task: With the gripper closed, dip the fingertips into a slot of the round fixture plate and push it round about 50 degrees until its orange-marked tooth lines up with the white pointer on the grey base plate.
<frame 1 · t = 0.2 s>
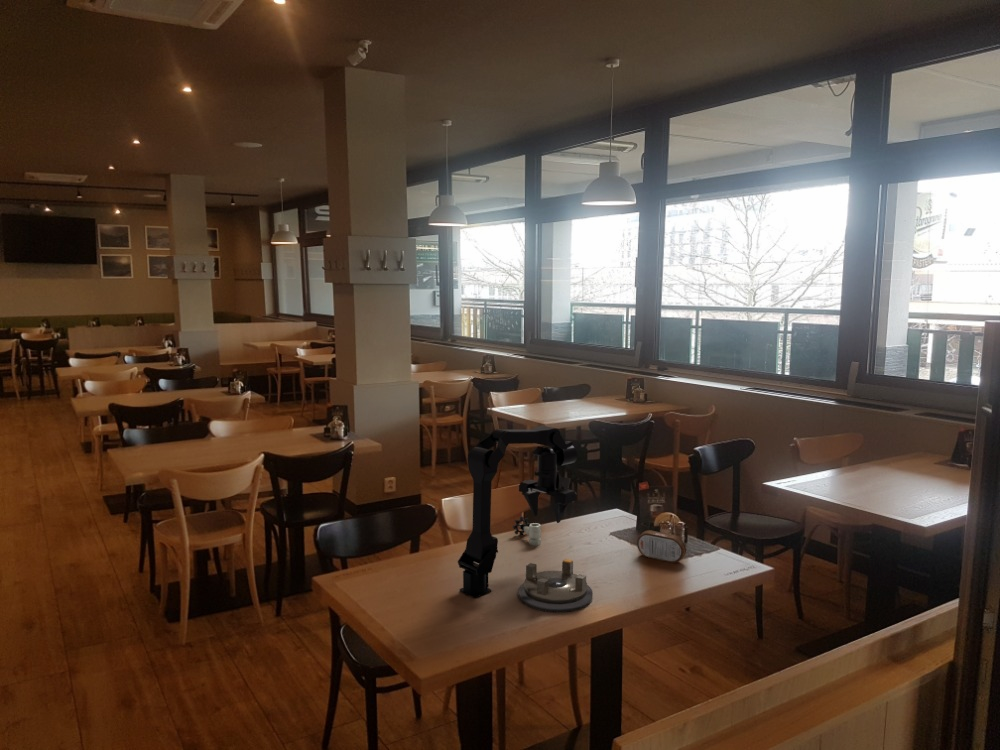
hand: (546, 519, 208), 14 cm above the table, tool pointing down, fingers open, 9 cm apart
valve: (529, 541, 232), on the table
base plate: (555, 595, 189), on the table
round fixture plate: (555, 579, 188), point 5 cm above the table, hinge at 0.0°
tin: (660, 560, 215), on the table
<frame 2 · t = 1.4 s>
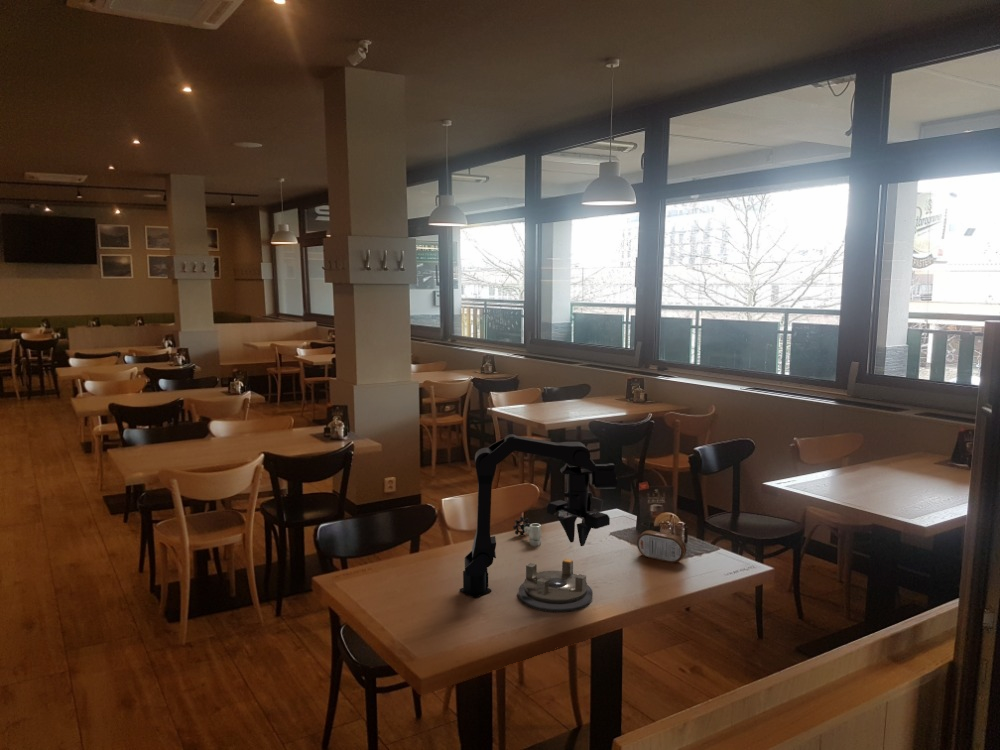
hand: (577, 544, 192), 13 cm above the table, tool pointing down, fingers open, 4 cm apart
nothing on the table moved.
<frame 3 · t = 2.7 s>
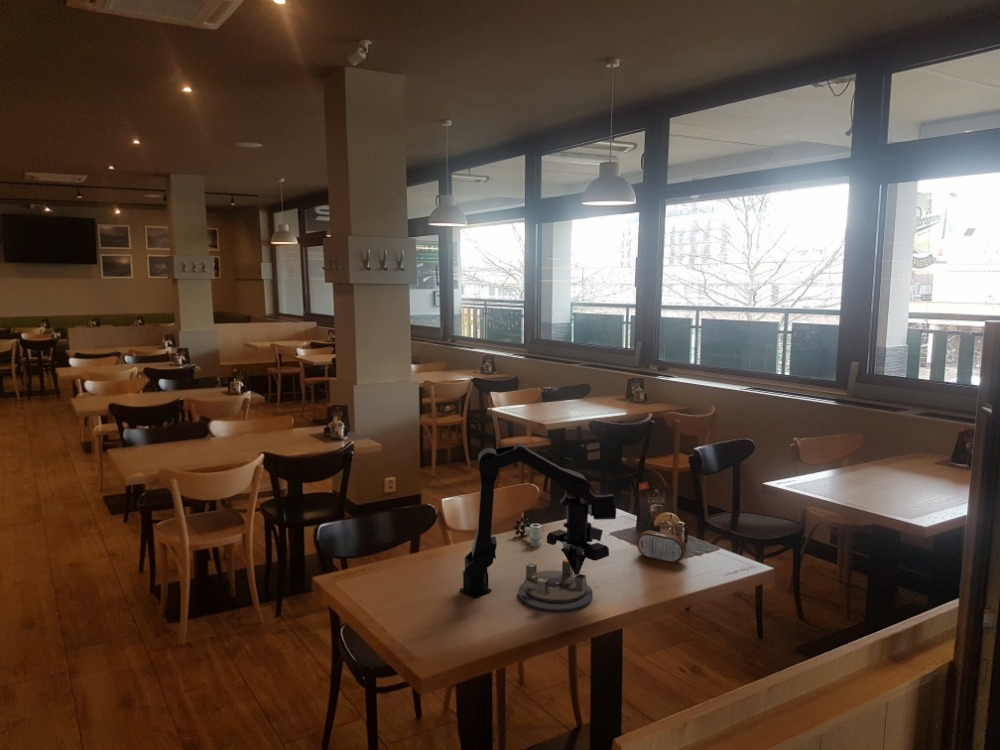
hand: (576, 574, 192), 4 cm above the table, tool pointing down, fingers closed
round fixture plate: (555, 579, 188), point 5 cm above the table, hinge at 0.0°, touching gripper
everything else where it was.
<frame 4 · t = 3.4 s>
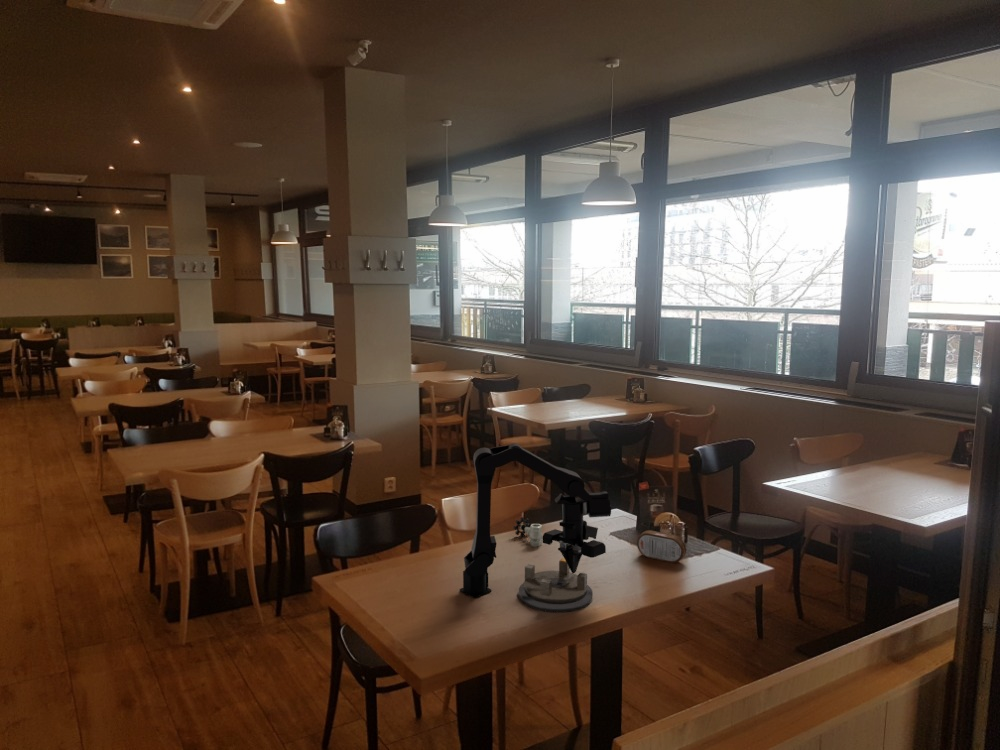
hand: (573, 572, 193), 4 cm above the table, tool pointing down, fingers closed
round fixture plate: (555, 579, 188), point 5 cm above the table, hinge at 7.8°, touching gripper
everything else where it was.
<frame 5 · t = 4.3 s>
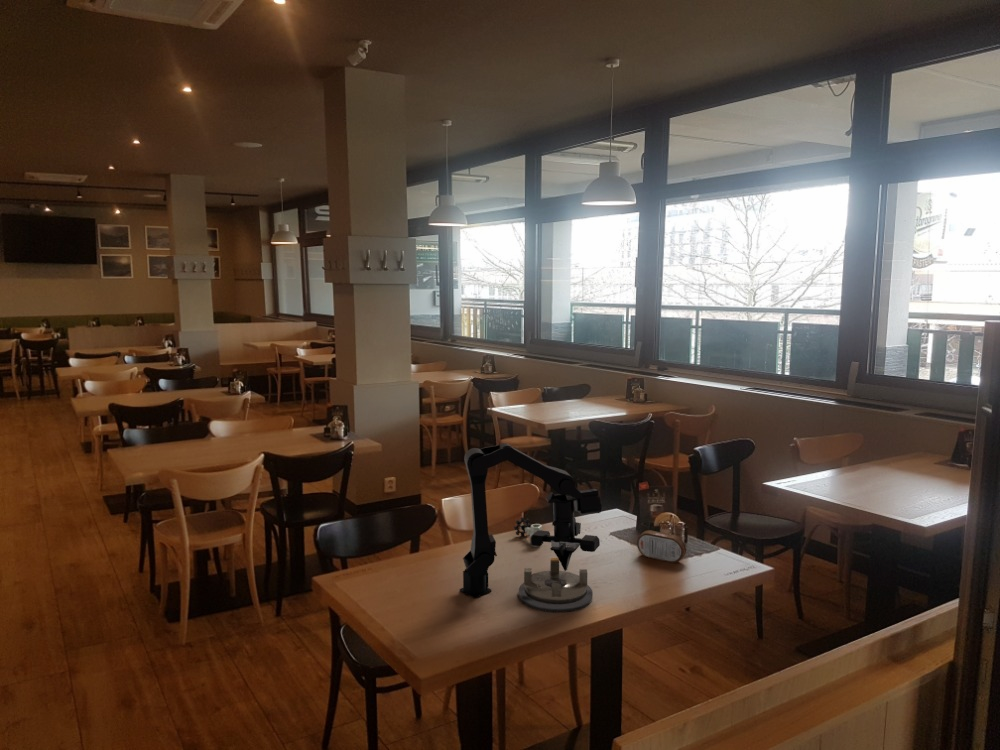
hand: (565, 570, 195), 4 cm above the table, tool pointing down, fingers closed
round fixture plate: (555, 579, 188), point 5 cm above the table, hinge at 28.6°, touching gripper
everything else where it was.
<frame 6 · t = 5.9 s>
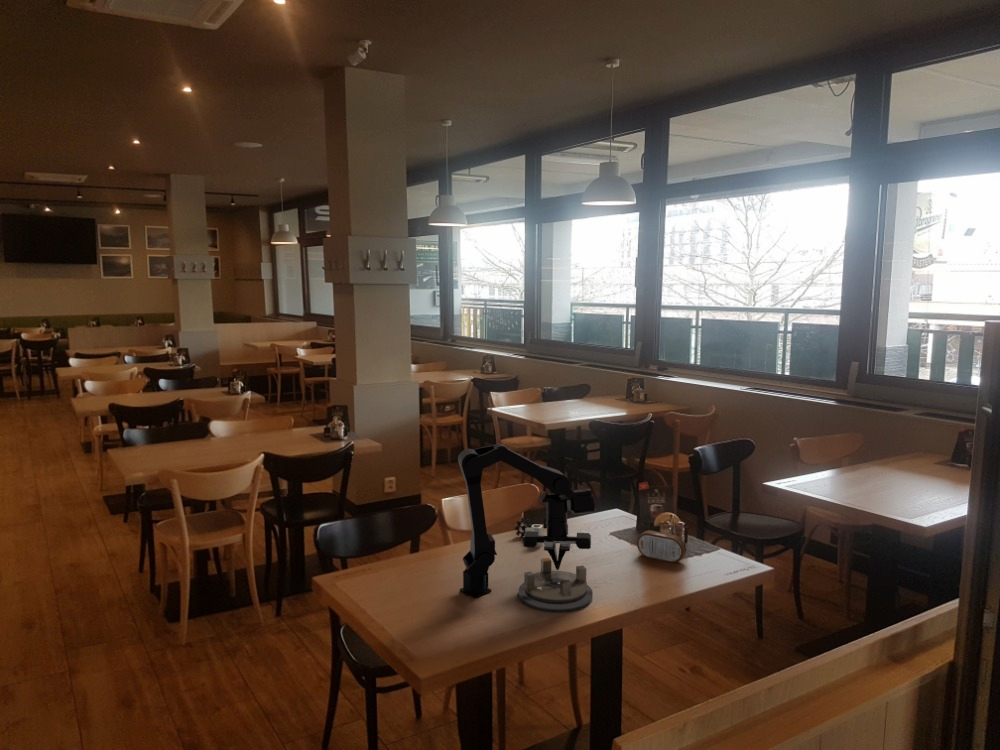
hand: (557, 569, 196), 4 cm above the table, tool pointing down, fingers closed
round fixture plate: (555, 579, 188), point 5 cm above the table, hinge at 47.5°, touching gripper
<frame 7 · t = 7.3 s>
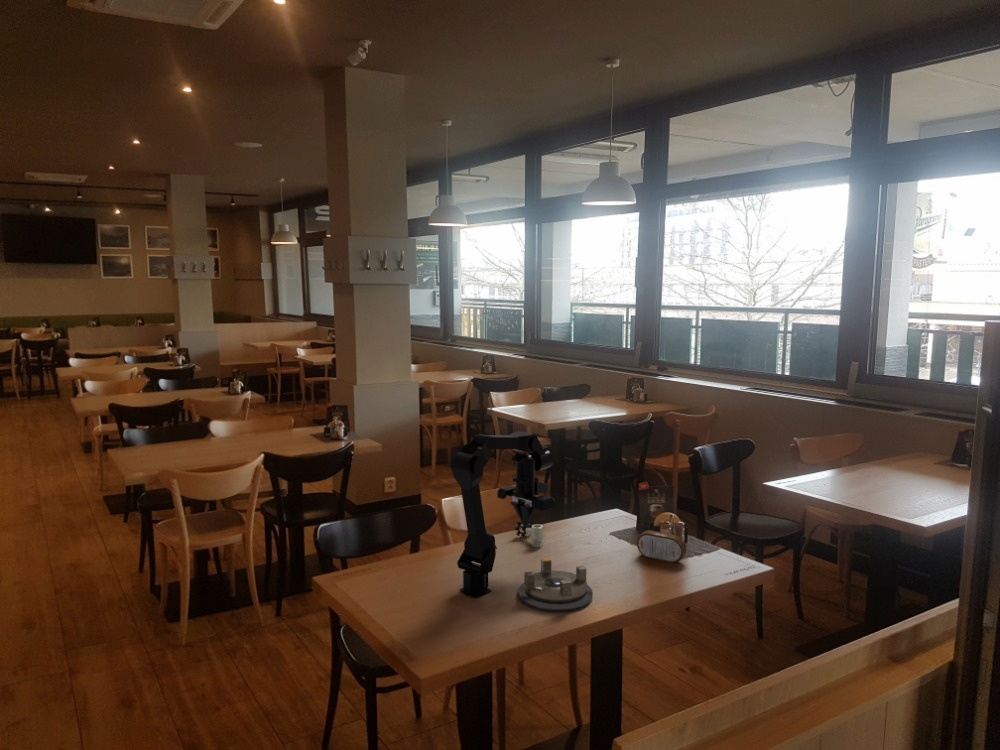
hand: (525, 525, 207), 13 cm above the table, tool pointing down, fingers closed
round fixture plate: (555, 579, 188), point 5 cm above the table, hinge at 47.5°
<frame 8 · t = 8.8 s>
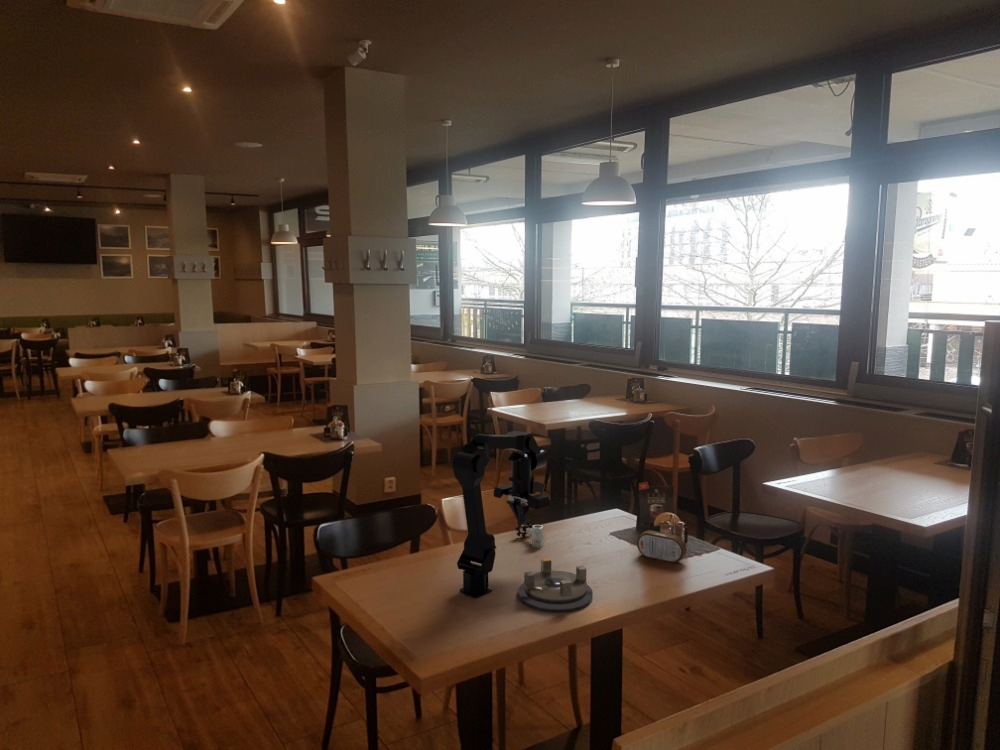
hand: (521, 524, 208), 13 cm above the table, tool pointing down, fingers closed
at the end: round fixture plate at +48° (first picture: +0°); valve moved 2.0 cm from its start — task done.
